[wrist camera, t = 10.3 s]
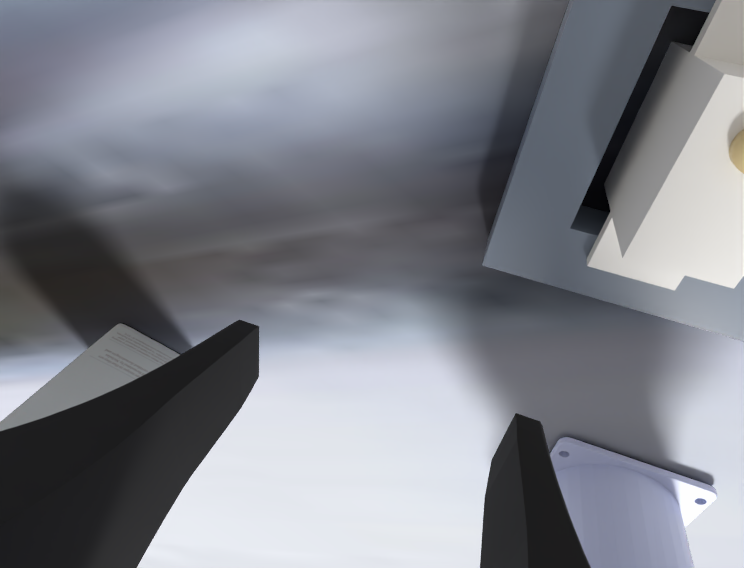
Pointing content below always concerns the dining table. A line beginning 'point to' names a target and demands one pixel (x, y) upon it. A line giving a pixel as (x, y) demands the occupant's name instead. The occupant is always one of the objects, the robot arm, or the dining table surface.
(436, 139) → the dining table surface
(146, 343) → the supplement box
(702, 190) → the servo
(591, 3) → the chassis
